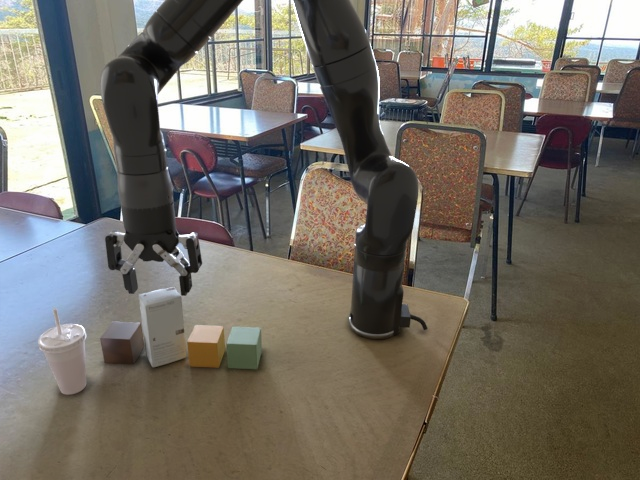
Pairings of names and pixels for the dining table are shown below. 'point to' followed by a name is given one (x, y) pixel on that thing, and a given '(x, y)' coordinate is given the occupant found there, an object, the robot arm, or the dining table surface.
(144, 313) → the cosmetic box
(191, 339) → the block ochre
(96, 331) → the dining table surface
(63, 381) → the smoothie
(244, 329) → the block sage
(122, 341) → the block walnut
